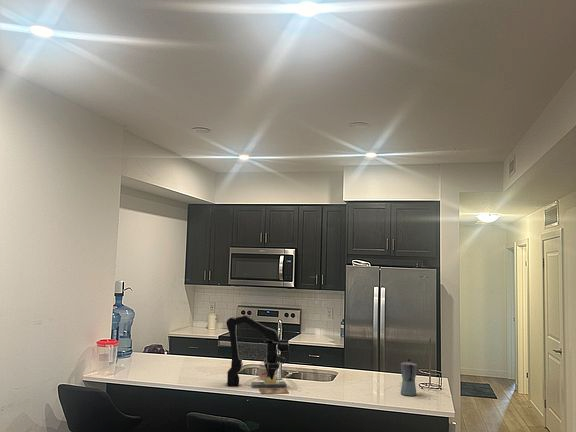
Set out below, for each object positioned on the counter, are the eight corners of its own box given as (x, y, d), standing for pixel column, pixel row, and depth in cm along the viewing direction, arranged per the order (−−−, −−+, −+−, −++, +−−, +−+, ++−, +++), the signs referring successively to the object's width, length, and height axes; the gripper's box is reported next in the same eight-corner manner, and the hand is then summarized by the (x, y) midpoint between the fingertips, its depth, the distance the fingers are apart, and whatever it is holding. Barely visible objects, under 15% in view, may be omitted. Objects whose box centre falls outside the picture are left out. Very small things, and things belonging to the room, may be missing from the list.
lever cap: (266, 383, 315) (266, 377, 316) (264, 381, 320) (265, 375, 320) (276, 383, 316) (276, 377, 317) (274, 381, 321) (275, 375, 321)
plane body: (252, 388, 312) (253, 379, 313) (251, 385, 319) (251, 376, 320) (286, 387, 316) (286, 379, 317) (284, 385, 323) (284, 376, 323)
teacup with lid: (256, 378, 337) (257, 360, 338) (262, 376, 345) (263, 357, 346) (273, 381, 332) (274, 362, 333) (279, 378, 341) (280, 359, 342)
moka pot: (413, 391, 317) (414, 357, 319) (420, 398, 302) (421, 362, 303) (397, 391, 317) (398, 356, 318) (404, 398, 301) (404, 361, 303)
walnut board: (261, 393, 300) (261, 393, 300) (258, 389, 310) (258, 388, 310) (289, 393, 303) (289, 392, 303) (285, 389, 313) (285, 388, 313)
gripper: (287, 353, 312) (286, 381, 311) (281, 348, 330) (281, 374, 329) (268, 353, 310) (267, 381, 309) (264, 348, 328) (263, 374, 327)
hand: (270, 377), depth 318 cm, fingers open, 9 cm apart
